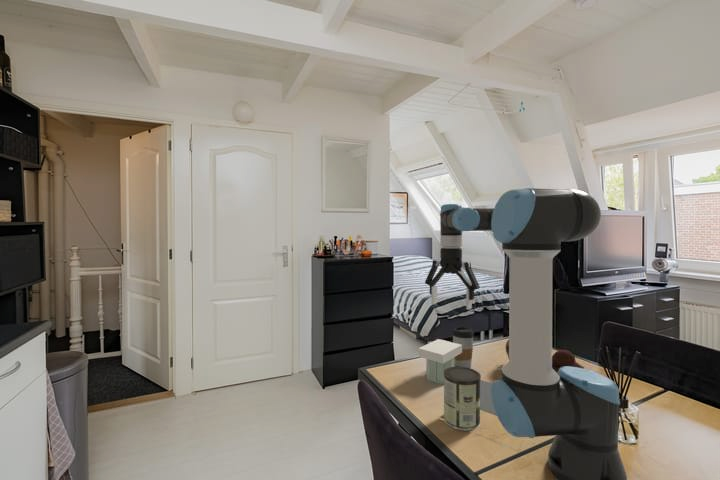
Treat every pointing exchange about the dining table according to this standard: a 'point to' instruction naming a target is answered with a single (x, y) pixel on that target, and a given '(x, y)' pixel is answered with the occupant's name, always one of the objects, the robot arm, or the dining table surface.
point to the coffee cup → (463, 345)
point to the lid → (440, 350)
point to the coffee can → (462, 398)
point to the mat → (486, 397)
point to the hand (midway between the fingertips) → (451, 306)
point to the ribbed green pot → (437, 370)
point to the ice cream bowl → (563, 360)
